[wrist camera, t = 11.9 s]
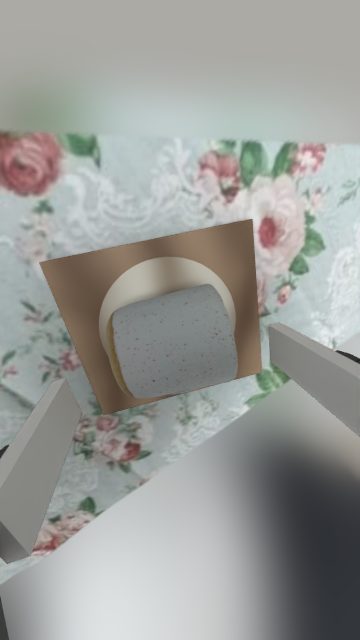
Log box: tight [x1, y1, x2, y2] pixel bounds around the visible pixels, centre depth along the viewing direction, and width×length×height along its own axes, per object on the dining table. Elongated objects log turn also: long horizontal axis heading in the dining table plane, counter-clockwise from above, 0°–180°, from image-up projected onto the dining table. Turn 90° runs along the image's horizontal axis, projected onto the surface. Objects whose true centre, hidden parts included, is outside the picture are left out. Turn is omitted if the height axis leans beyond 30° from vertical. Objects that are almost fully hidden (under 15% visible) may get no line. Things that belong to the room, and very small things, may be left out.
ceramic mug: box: [106, 284, 238, 398], centre depth 16 cm, size 11×8×8 cm
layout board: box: [39, 219, 262, 415], centre depth 20 cm, size 18×16×1 cm
